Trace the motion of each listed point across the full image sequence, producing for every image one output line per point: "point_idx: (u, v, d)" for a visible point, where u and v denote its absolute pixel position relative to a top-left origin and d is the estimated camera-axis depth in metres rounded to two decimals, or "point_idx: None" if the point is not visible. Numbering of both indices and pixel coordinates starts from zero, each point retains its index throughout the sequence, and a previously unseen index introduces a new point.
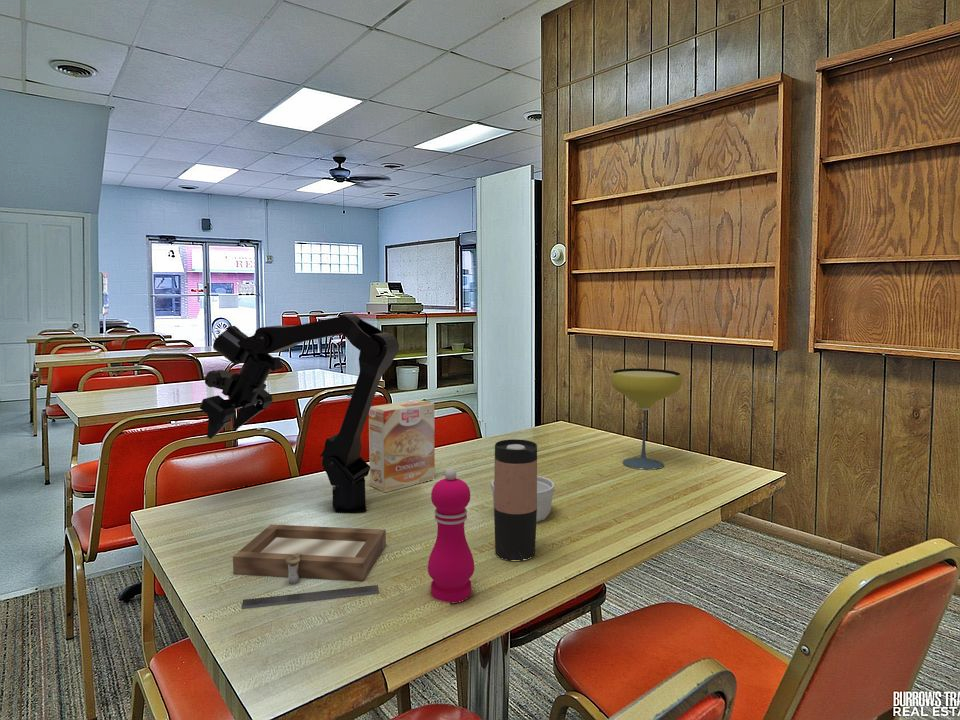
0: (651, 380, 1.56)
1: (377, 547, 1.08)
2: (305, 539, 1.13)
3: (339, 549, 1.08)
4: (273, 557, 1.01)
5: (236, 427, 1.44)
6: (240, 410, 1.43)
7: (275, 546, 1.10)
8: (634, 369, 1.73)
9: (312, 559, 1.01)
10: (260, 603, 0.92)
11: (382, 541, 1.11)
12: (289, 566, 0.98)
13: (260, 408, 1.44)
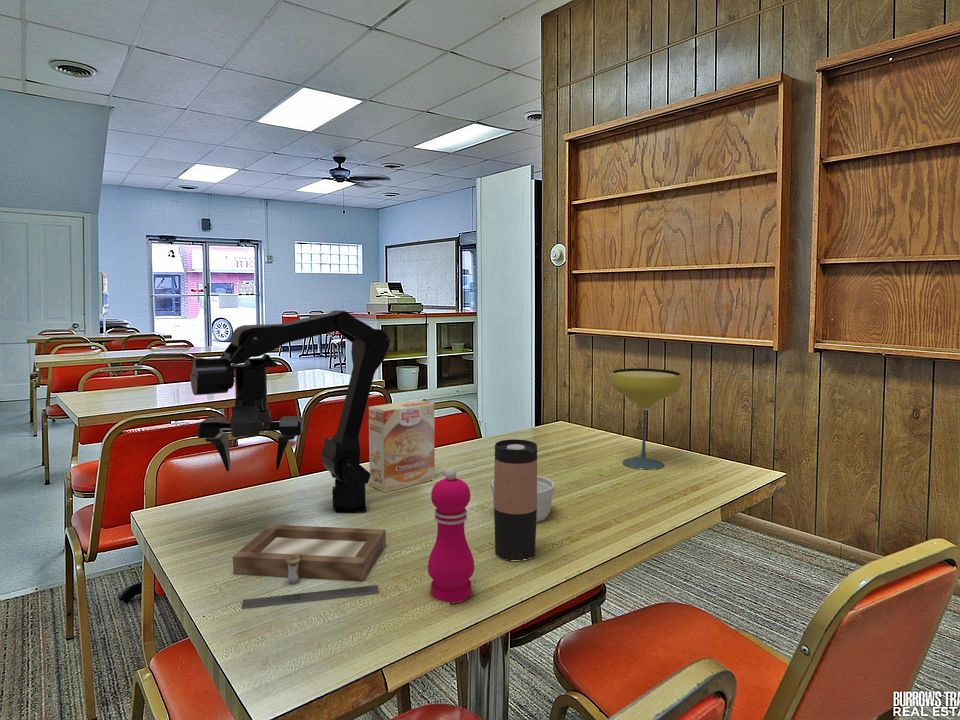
0: (651, 380, 1.56)
1: (377, 547, 1.08)
2: (305, 539, 1.13)
3: (339, 549, 1.08)
4: (273, 557, 1.01)
5: (229, 468, 1.20)
6: (225, 450, 1.18)
7: (275, 546, 1.10)
8: (634, 369, 1.73)
9: (312, 559, 1.01)
10: (260, 603, 0.92)
11: (382, 541, 1.11)
12: (289, 566, 0.98)
13: None
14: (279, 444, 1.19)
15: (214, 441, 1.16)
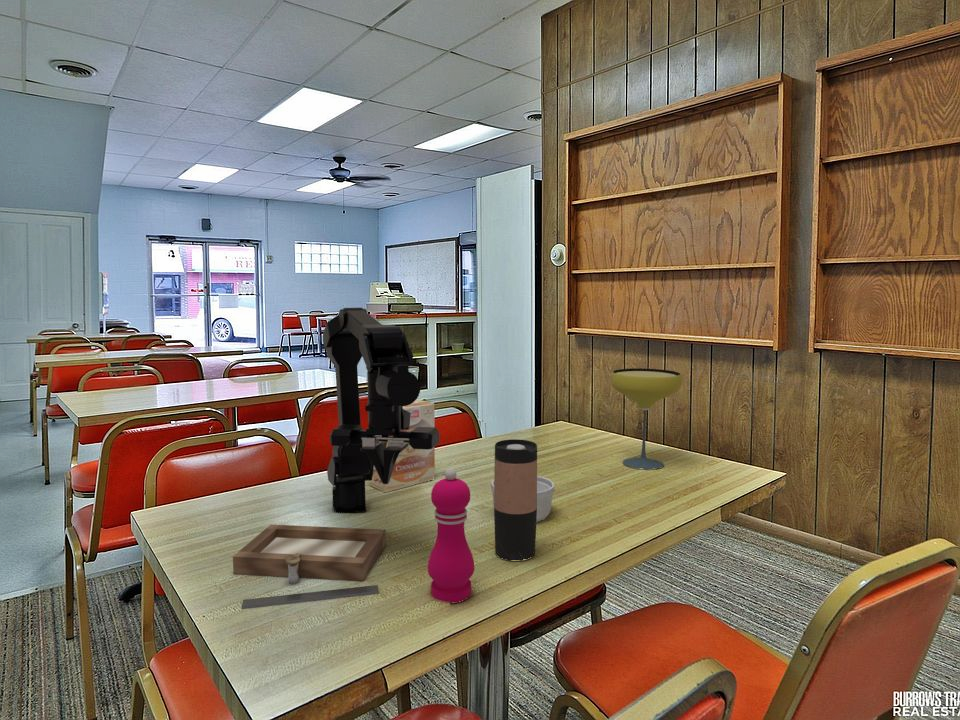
0: (651, 380, 1.56)
1: (377, 547, 1.08)
2: (305, 539, 1.13)
3: (339, 549, 1.08)
4: (273, 557, 1.01)
5: None
6: None
7: (275, 546, 1.10)
8: (634, 369, 1.73)
9: (312, 559, 1.01)
10: (260, 603, 0.92)
11: (382, 541, 1.11)
12: (289, 566, 0.98)
13: (390, 449, 1.08)
14: None
15: None
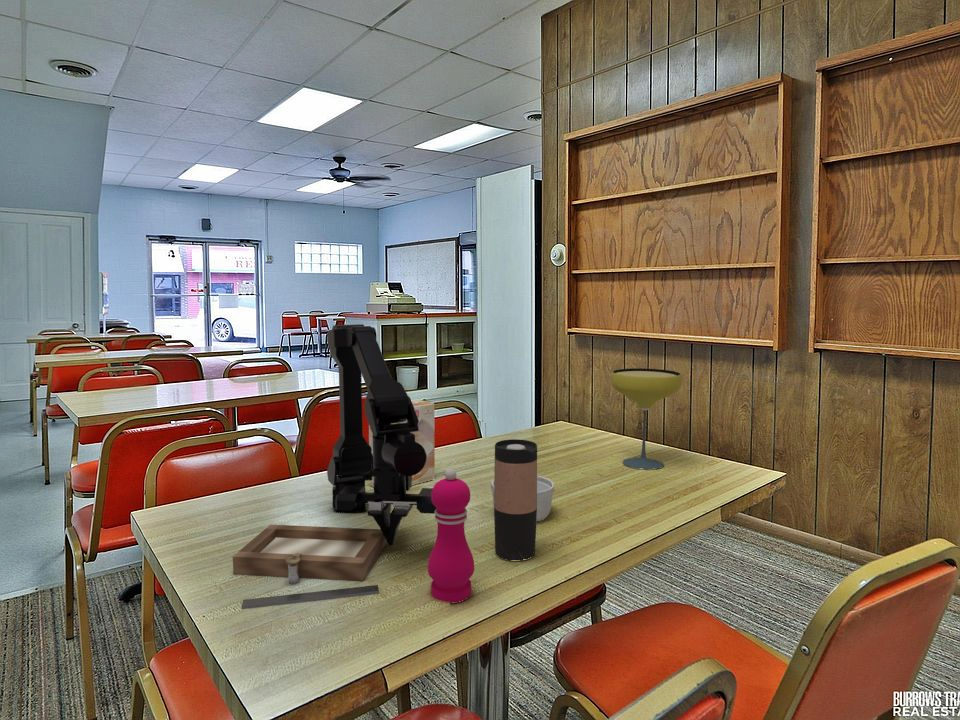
0: (651, 380, 1.56)
1: (377, 547, 1.08)
2: (305, 539, 1.13)
3: (339, 549, 1.08)
4: (273, 557, 1.01)
5: None
6: None
7: (275, 546, 1.10)
8: (634, 369, 1.73)
9: (312, 559, 1.01)
10: (260, 603, 0.92)
11: (382, 541, 1.11)
12: (289, 566, 0.98)
13: (396, 513, 1.08)
14: None
15: None
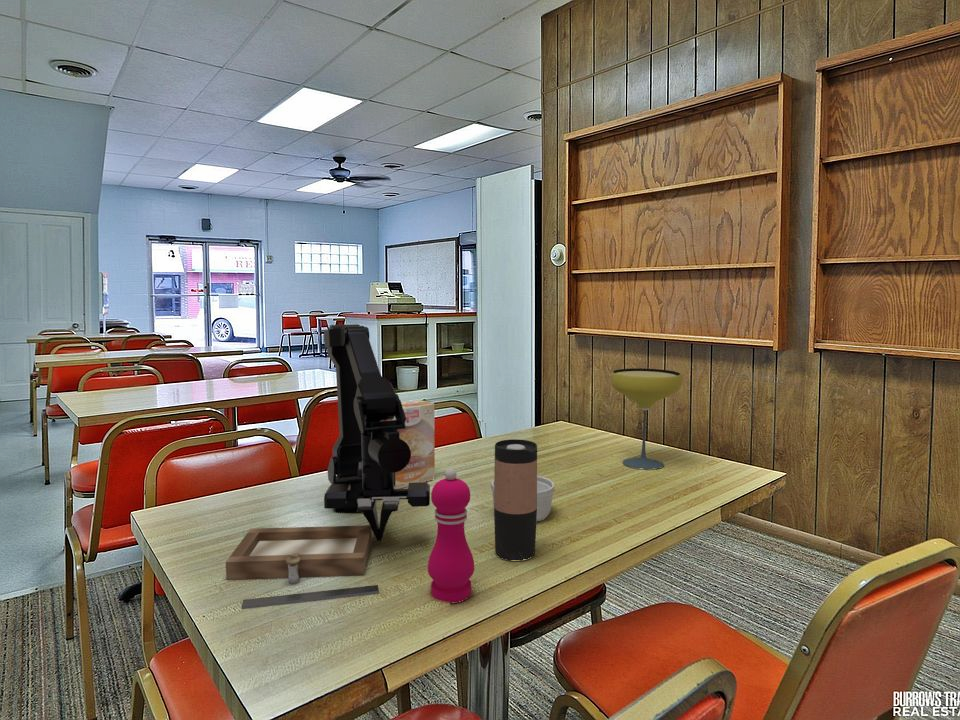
0: (651, 380, 1.56)
1: None
2: (290, 540, 1.12)
3: (330, 547, 1.09)
4: (269, 559, 1.01)
5: None
6: None
7: (262, 549, 1.08)
8: (634, 369, 1.73)
9: (311, 558, 1.01)
10: (260, 603, 0.92)
11: (370, 536, 1.13)
12: (289, 566, 0.98)
13: (387, 508, 1.11)
14: None
15: None
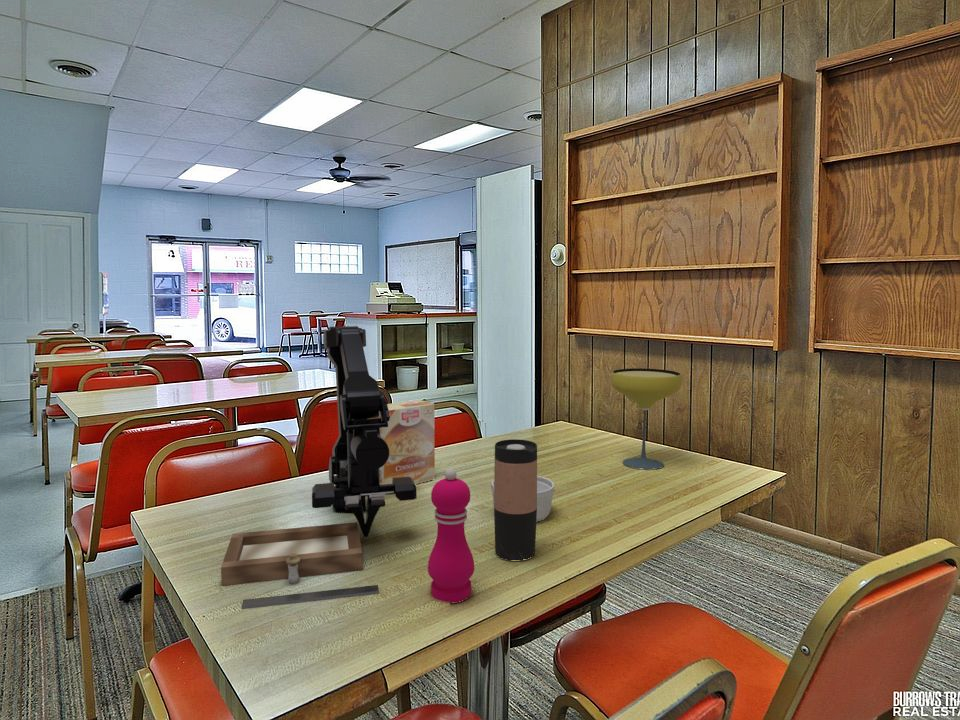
0: (651, 380, 1.56)
1: None
2: (276, 543, 1.11)
3: (320, 546, 1.10)
4: (266, 561, 1.00)
5: None
6: None
7: (250, 553, 1.07)
8: (634, 369, 1.73)
9: (309, 557, 1.01)
10: (260, 603, 0.92)
11: None
12: (289, 566, 0.98)
13: (375, 503, 1.13)
14: None
15: None
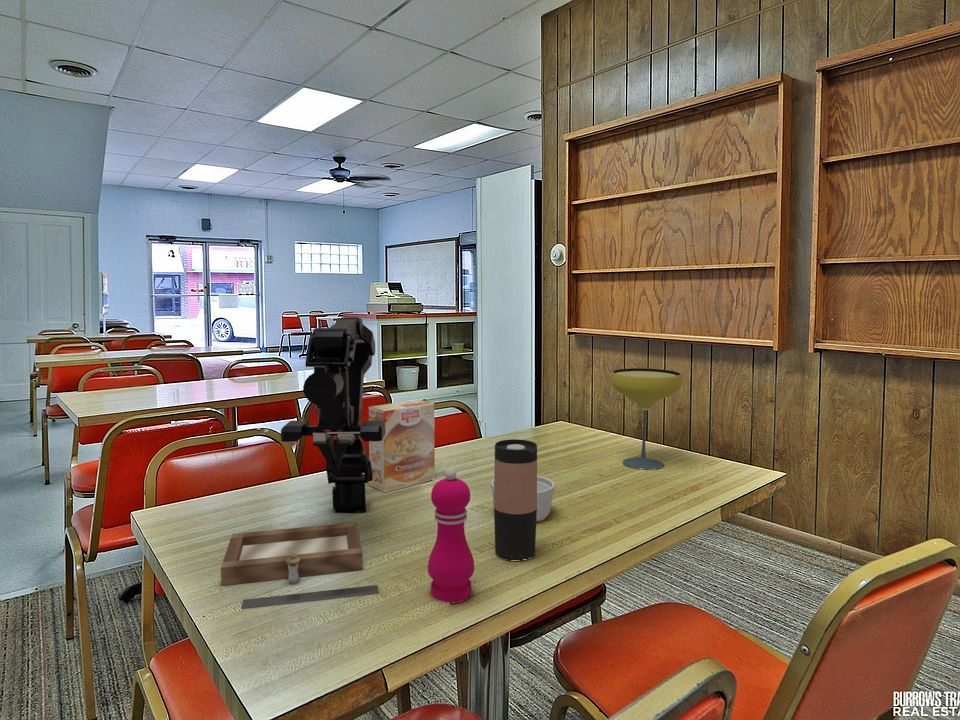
0: (651, 380, 1.56)
1: None
2: (276, 543, 1.11)
3: (320, 546, 1.10)
4: (266, 561, 1.00)
5: None
6: None
7: (250, 553, 1.07)
8: (634, 369, 1.73)
9: (309, 557, 1.02)
10: (260, 603, 0.92)
11: None
12: (289, 566, 0.98)
13: (341, 442, 1.15)
14: None
15: None
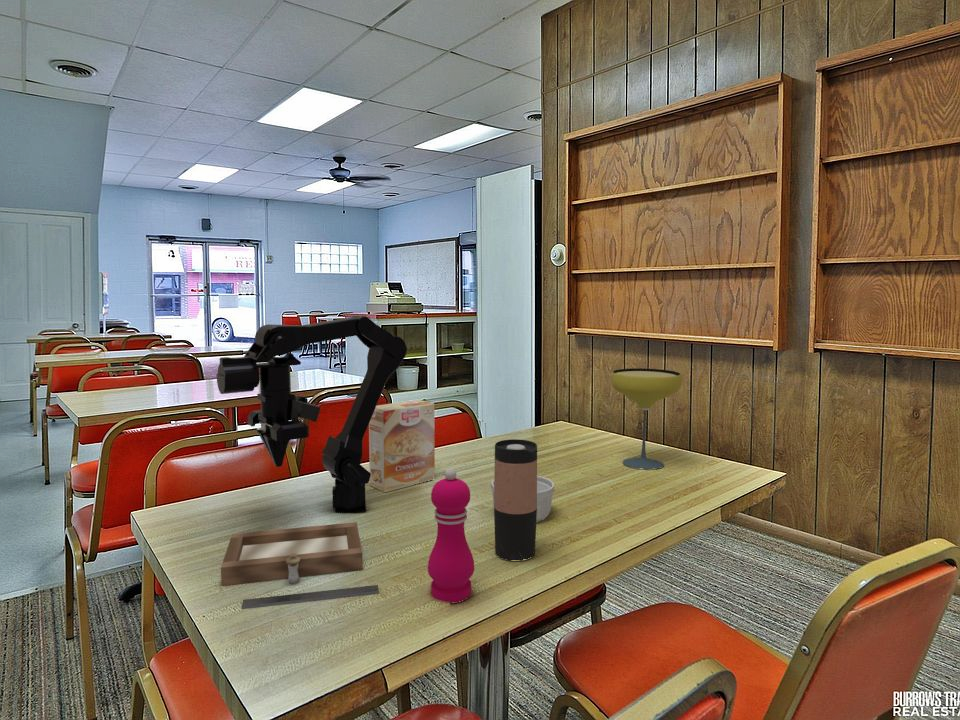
0: (651, 380, 1.56)
1: None
2: (276, 543, 1.11)
3: (320, 546, 1.10)
4: (266, 561, 1.00)
5: None
6: None
7: (250, 553, 1.07)
8: (634, 369, 1.73)
9: (309, 557, 1.02)
10: (260, 603, 0.92)
11: None
12: (289, 566, 0.98)
13: (267, 435, 1.19)
14: None
15: None
